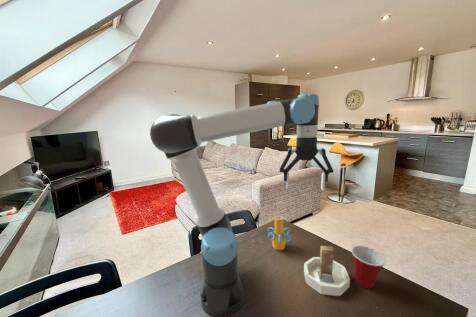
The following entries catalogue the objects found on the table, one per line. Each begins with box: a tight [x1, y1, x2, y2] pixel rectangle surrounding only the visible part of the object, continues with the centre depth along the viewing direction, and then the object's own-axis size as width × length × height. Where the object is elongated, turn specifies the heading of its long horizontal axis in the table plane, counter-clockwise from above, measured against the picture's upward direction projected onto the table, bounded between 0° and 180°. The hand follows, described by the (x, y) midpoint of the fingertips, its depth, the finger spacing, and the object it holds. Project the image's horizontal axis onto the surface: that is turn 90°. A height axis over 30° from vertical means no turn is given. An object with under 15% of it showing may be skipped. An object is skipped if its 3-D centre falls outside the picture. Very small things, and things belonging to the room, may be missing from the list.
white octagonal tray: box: [303, 256, 351, 297], centre depth 81 cm, size 15×15×4 cm
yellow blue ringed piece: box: [267, 215, 292, 251], centre depth 100 cm, size 12×10×15 cm
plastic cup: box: [350, 244, 387, 289], centre depth 77 cm, size 11×11×12 cm
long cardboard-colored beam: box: [319, 245, 335, 278], centre depth 79 cm, size 4×2×12 cm, turn 81°
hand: (304, 189), depth 86 cm, fingers open, 13 cm apart
